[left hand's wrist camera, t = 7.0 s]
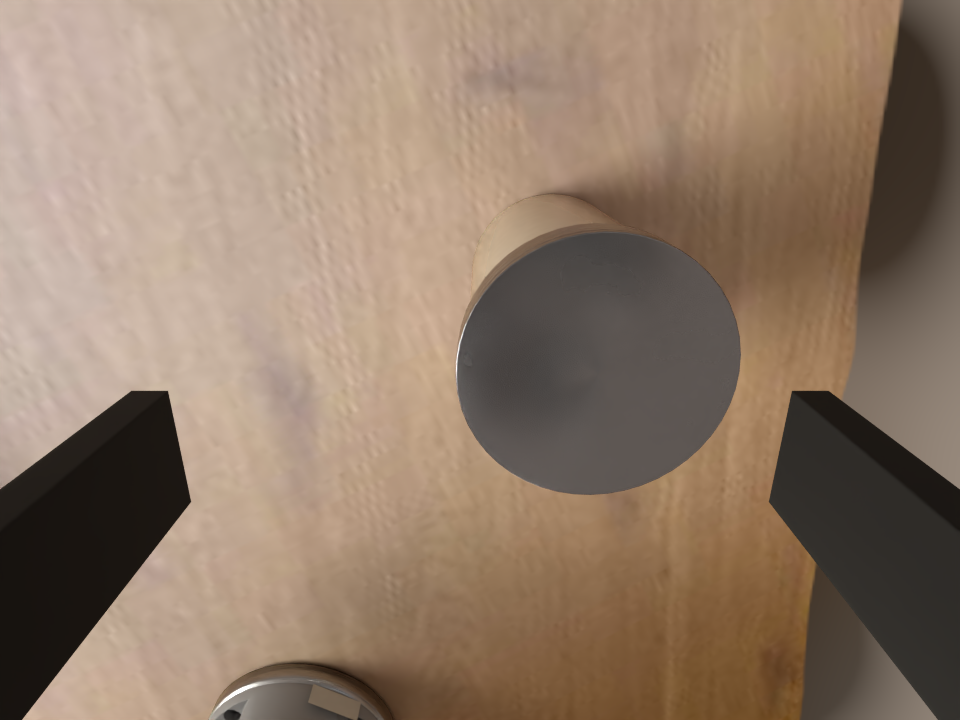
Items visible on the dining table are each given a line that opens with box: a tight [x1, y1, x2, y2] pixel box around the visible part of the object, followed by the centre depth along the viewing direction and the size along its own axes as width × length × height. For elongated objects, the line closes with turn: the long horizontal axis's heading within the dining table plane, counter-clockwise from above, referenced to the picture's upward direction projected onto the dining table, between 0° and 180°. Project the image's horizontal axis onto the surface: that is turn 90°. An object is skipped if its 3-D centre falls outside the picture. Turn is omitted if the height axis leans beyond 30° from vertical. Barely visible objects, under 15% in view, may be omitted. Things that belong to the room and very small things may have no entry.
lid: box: [456, 223, 741, 495], centre depth 22 cm, size 10×10×2 cm
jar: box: [470, 194, 621, 301], centre depth 29 cm, size 9×9×15 cm
